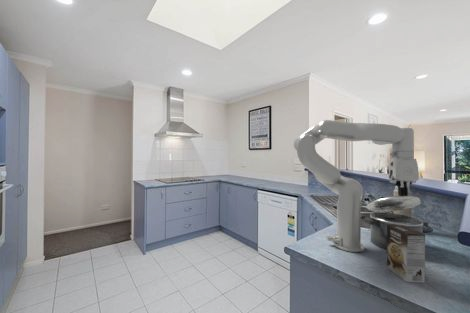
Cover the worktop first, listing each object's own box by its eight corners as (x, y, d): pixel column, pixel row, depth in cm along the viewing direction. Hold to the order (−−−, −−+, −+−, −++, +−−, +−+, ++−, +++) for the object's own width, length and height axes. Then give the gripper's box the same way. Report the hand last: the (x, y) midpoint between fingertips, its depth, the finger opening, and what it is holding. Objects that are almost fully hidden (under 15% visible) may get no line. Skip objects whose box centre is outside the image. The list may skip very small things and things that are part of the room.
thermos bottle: (412, 229, 115) (412, 181, 116) (409, 232, 110) (409, 182, 111) (395, 226, 121) (395, 180, 122) (391, 228, 116) (391, 181, 117)
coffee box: (385, 267, 74) (385, 224, 74) (403, 267, 74) (403, 224, 74) (406, 282, 65) (405, 233, 65) (426, 283, 65) (426, 233, 65)
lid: (433, 199, 86) (429, 191, 88) (383, 198, 87) (380, 190, 89) (399, 212, 105) (396, 205, 106) (358, 211, 106) (356, 205, 107)
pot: (381, 254, 85) (381, 224, 85) (355, 236, 104) (355, 211, 104) (444, 256, 83) (443, 225, 84) (406, 237, 103) (406, 213, 103)
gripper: (392, 155, 86) (392, 197, 86) (427, 155, 86) (427, 198, 85) (380, 155, 94) (380, 194, 93) (412, 155, 93) (412, 194, 93)
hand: (402, 196), depth 89 cm, fingers closed
